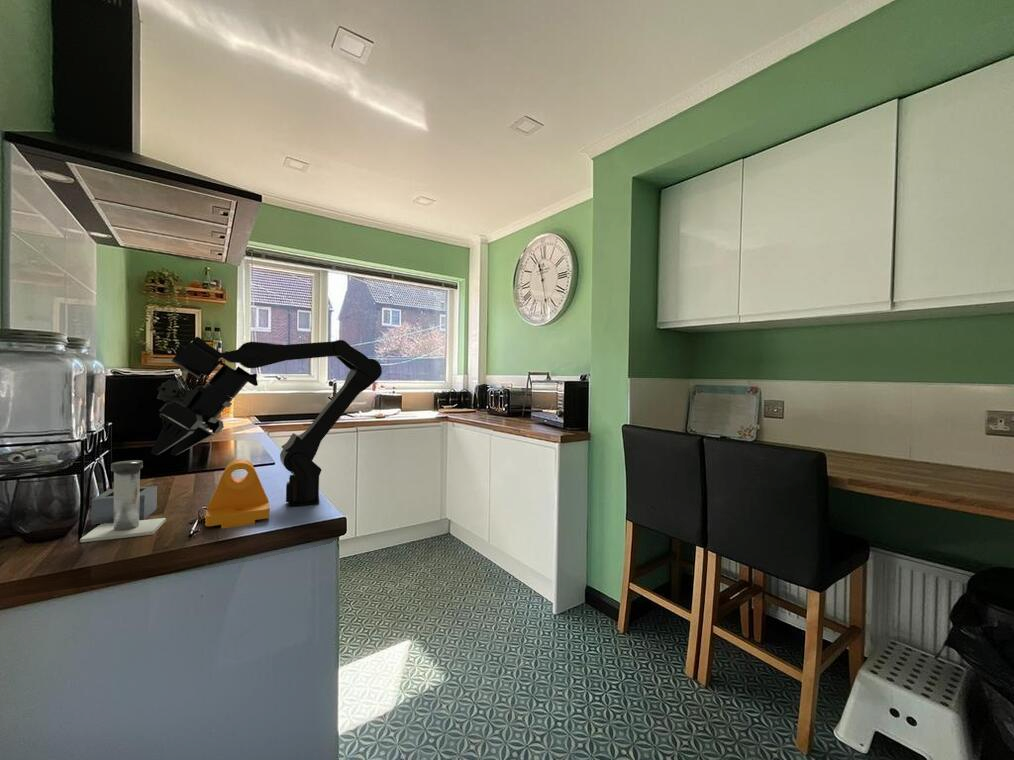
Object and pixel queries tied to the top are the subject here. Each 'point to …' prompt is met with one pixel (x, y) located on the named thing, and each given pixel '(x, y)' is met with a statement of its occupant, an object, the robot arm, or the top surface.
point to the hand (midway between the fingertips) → (163, 454)
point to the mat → (108, 533)
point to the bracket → (237, 498)
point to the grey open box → (105, 505)
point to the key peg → (126, 494)
